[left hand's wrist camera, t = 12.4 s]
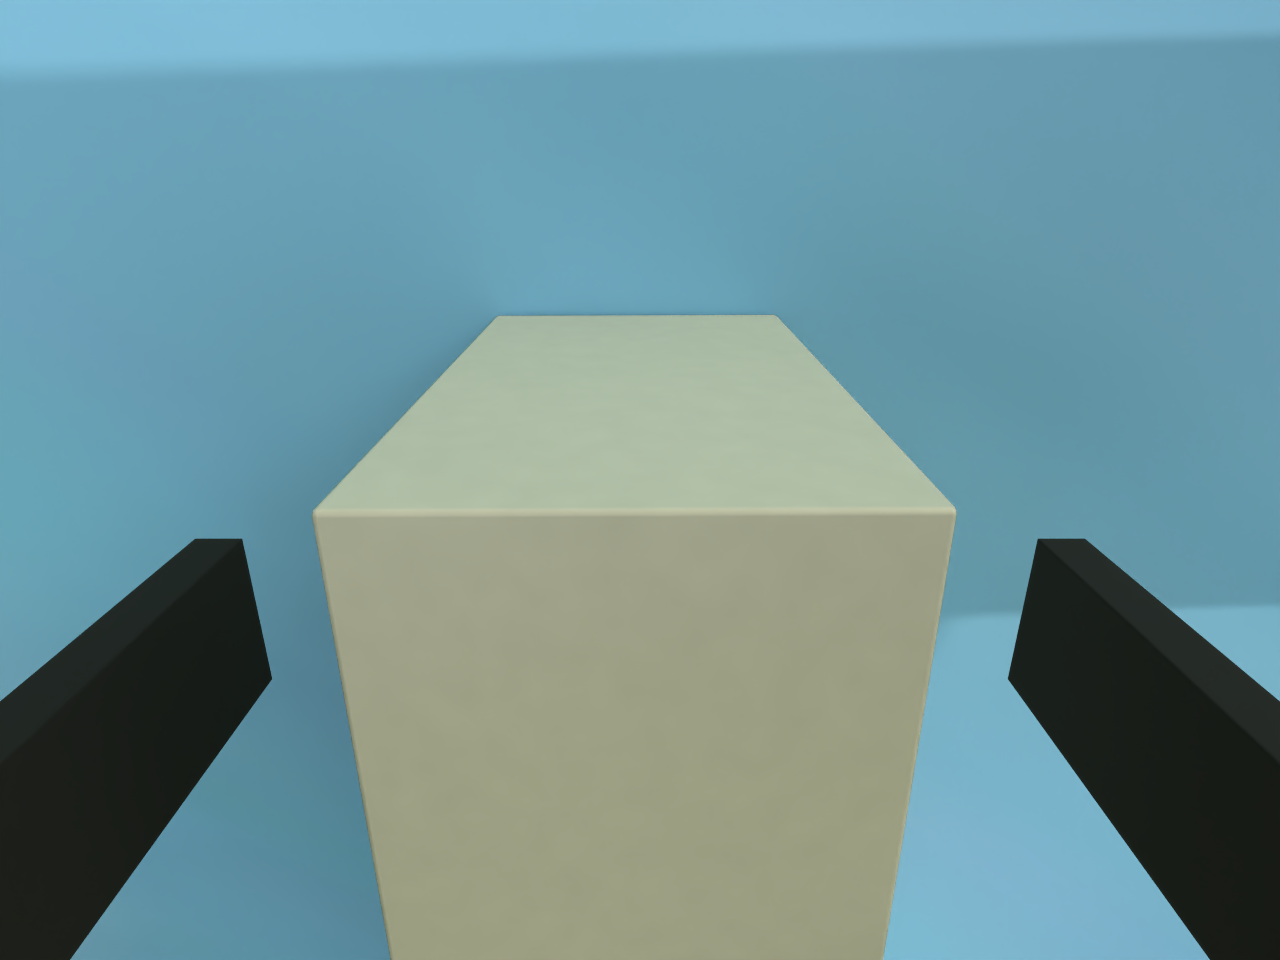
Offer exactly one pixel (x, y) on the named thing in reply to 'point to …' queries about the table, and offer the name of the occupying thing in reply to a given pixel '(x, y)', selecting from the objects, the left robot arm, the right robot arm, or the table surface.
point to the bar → (635, 647)
